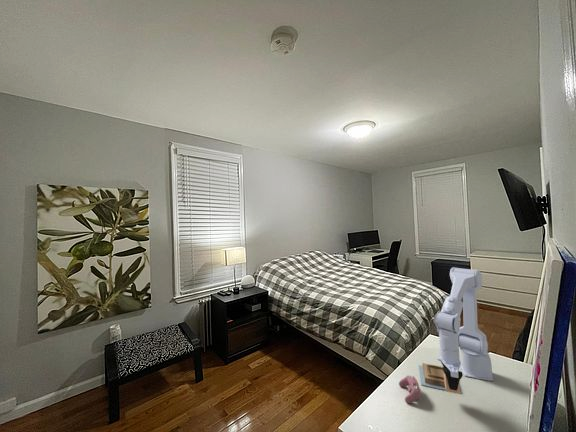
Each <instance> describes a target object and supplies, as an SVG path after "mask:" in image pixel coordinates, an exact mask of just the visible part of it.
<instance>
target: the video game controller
mask: <svg viewBox="0 0 576 432" xmlns="http://www.w3.org/2000/svg"><path fill="white" fill-rule="evenodd" d="M419 384H420V383H419V382H418V380H417V378H416V377H415V376H414V375H409V374H408V375H406V376H405V377H404V378H402V379H401V380H400V381H399V382H398V386H400V387H402V388H404V387H407V391H408V392H409V393H408V394H407V395H406V396H405V398H404V401H405V403H406V404H412V403H415V402H416V401H417V400H418V399H420V397H421V396H422V391H421V390H422V389H421V388H420V385H419Z"/></svg>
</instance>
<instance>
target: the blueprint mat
mask: <svg viewBox="0 0 576 432" xmlns="http://www.w3.org/2000/svg"><path fill="white" fill-rule="evenodd" d="M418 371H419V378H420V385H421V386H423V387H427V388H432V389H435V390H442V391H445V392H447V391H446V388H445V387H443V386H438V385H433V384H429V383H425V379H424V373H423V365H422V364H421V365H420V364H418ZM461 394H462V392H461V391H460V394H459V395H461Z"/></svg>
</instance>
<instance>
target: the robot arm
mask: <svg viewBox="0 0 576 432" xmlns="http://www.w3.org/2000/svg"><path fill="white" fill-rule="evenodd" d="M449 270H450V271H449V277H450V278H449V279H450V280H451V284H452V286H451V290H450V294H449V296H446V297H445V299H444V301H443V305H442V307H441V310H440V311H439V312H437V313H436V315H435V320H434V324H435V328H436V331H437V333H438V337H439V338H438V339H439V351H440V352H439V353H440V355H437V356H436V360H437V361H438V362H440V363H441V364H442V366H441V367H442V368H443V372H444V373H445V375H446V377H447V380H448V385H449V388H450V389H451V390H456V391H457V389H458V384H459V385H460V382H461V379H462V378H463V375H464V376H465V377H469V378H473V379H480V380H485V381H489V382H493V381H494V379H493V366H492V359H491V356H490V355H489V353H488V350H489V345H488V344H489V343H488V340H487V339H488V338H487V335H486V334H485V333H484V332H483V331H482V330H481V329H479V325H478V301H477V300H478V299H477V298H478V297H477V295H478V293H477V292H478V290H480V289H482V288H483V274H482V272H481V271H480V269H470V268H462V267H461V268H460V267H454V266H453V267H451V268H450V269H449ZM462 311H463V312H462ZM462 313H463V314H462ZM461 315H463V316H462V318H463V319H462V320H463V325H462V326H461ZM460 351H461V359H460ZM460 368H461V371H460Z"/></svg>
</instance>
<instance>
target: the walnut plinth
mask: <svg viewBox="0 0 576 432" xmlns="http://www.w3.org/2000/svg"><path fill="white" fill-rule="evenodd" d="M421 366H423V373H424V379H425V383H429V384H433V385H438V386H443V387H445V384H444V372H443V368H442V367H443V366H441V365H440V366H439V365H435V364H429V363H423V362H422V364H421Z"/></svg>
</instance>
